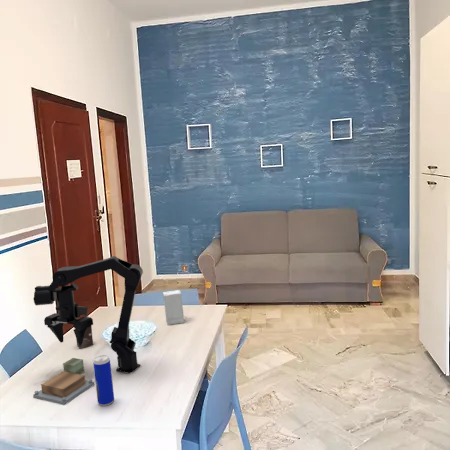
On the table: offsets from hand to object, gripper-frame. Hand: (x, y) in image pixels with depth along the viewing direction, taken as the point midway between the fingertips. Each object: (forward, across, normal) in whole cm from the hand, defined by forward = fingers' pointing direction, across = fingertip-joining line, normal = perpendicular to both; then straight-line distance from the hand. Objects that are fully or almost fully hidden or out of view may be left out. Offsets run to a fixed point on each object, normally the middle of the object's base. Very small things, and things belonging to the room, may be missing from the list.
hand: (71, 343), depth 169 cm
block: (+12, 0, 0) cm, 12 cm away
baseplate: (+12, -6, +11) cm, 17 cm away
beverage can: (+12, -25, +12) cm, 30 cm away
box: (+12, +15, -22) cm, 29 cm away
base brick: (+12, -6, +11) cm, 17 cm away
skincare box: (+12, -8, -57) cm, 59 cm away
